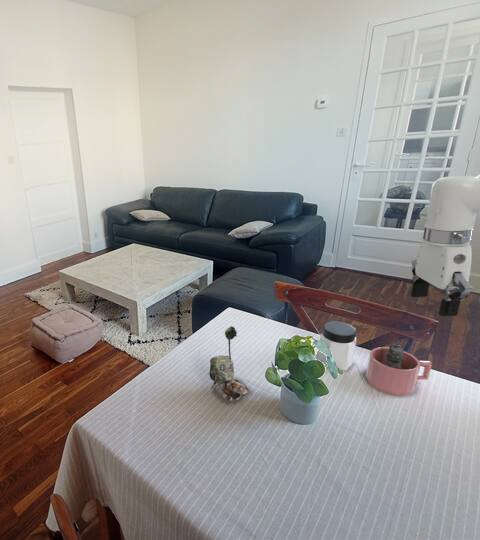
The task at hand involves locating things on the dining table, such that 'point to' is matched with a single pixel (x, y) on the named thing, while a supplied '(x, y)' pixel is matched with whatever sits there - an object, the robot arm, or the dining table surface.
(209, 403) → the dining table surface
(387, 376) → the pink coffee mug
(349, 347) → the jar
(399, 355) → the grey stone figurine
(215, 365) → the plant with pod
